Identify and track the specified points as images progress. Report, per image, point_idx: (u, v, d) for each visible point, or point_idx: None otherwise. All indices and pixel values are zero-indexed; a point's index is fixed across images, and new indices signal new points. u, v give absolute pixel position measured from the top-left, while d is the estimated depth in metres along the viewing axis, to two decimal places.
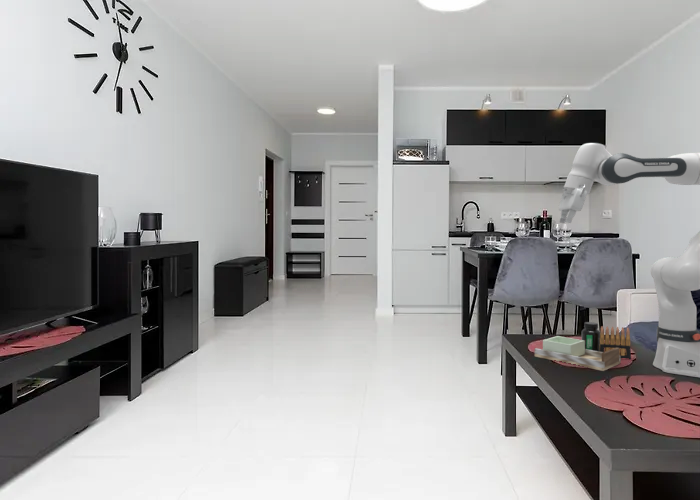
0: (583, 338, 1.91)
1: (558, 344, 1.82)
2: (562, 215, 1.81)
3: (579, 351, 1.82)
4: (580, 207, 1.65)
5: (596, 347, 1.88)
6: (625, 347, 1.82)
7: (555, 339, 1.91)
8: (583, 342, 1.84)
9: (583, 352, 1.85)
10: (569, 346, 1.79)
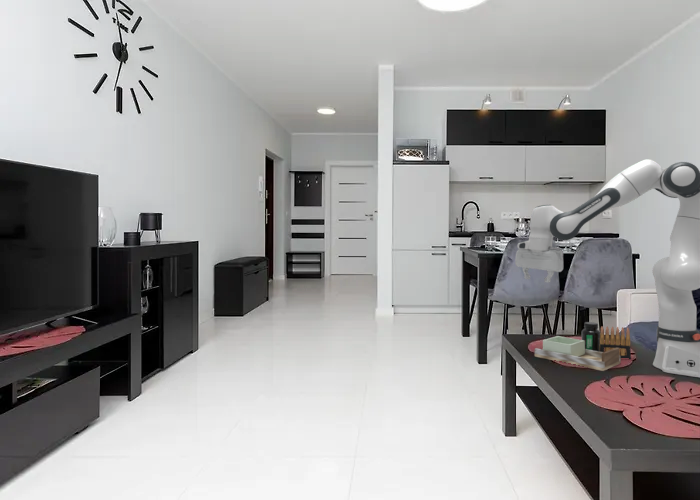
0: (583, 338, 1.91)
1: (558, 344, 1.82)
2: (525, 272, 1.95)
3: (579, 351, 1.82)
4: (562, 269, 1.82)
5: (596, 347, 1.88)
6: (625, 347, 1.82)
7: (555, 339, 1.91)
8: (583, 342, 1.84)
9: (583, 352, 1.85)
10: (569, 346, 1.79)
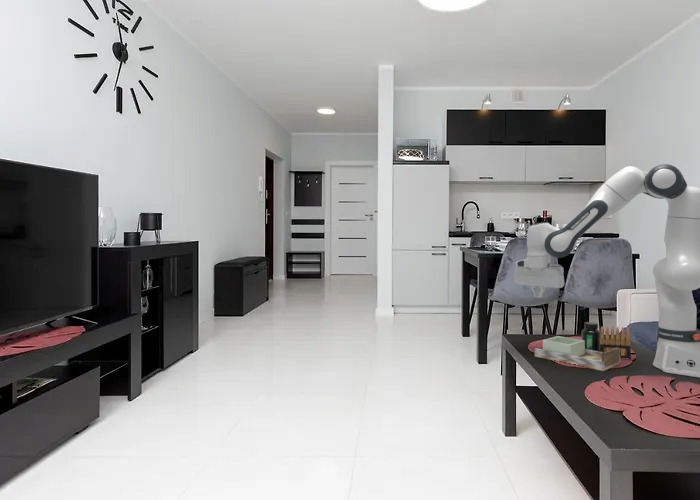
0: (583, 338, 1.91)
1: (558, 344, 1.82)
2: (534, 290, 1.94)
3: (579, 351, 1.82)
4: (563, 284, 1.86)
5: (596, 347, 1.88)
6: (625, 347, 1.82)
7: (555, 339, 1.91)
8: (583, 342, 1.84)
9: (583, 352, 1.85)
10: (569, 346, 1.79)
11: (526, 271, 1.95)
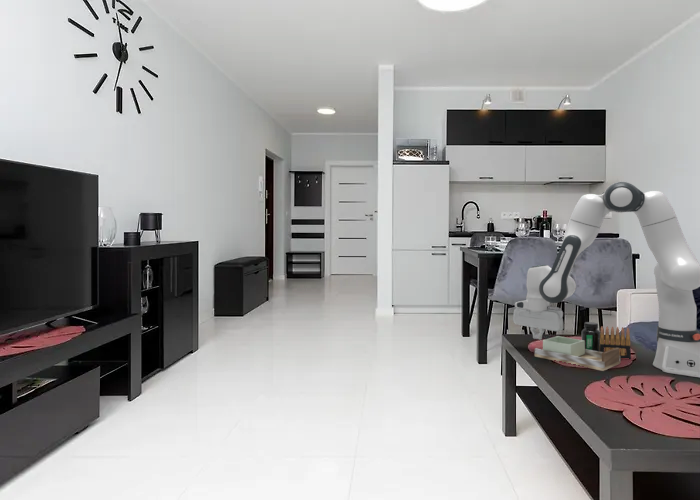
0: (583, 338, 1.91)
1: (558, 344, 1.82)
2: (533, 331, 1.95)
3: (579, 351, 1.82)
4: (562, 328, 1.87)
5: (596, 347, 1.88)
6: (625, 347, 1.83)
7: (555, 339, 1.91)
8: (583, 342, 1.84)
9: (583, 352, 1.85)
10: (569, 346, 1.79)
11: (525, 312, 1.96)
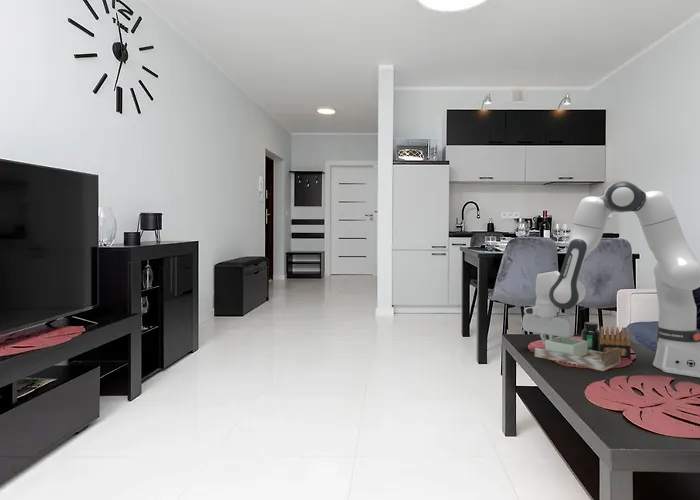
0: (583, 338, 1.91)
1: (561, 344, 1.81)
2: (543, 337, 1.92)
3: (581, 351, 1.82)
4: (573, 334, 1.84)
5: (596, 347, 1.88)
6: (625, 347, 1.82)
7: (557, 339, 1.90)
8: (586, 342, 1.84)
9: (586, 352, 1.84)
10: (572, 346, 1.78)
11: (535, 318, 1.93)
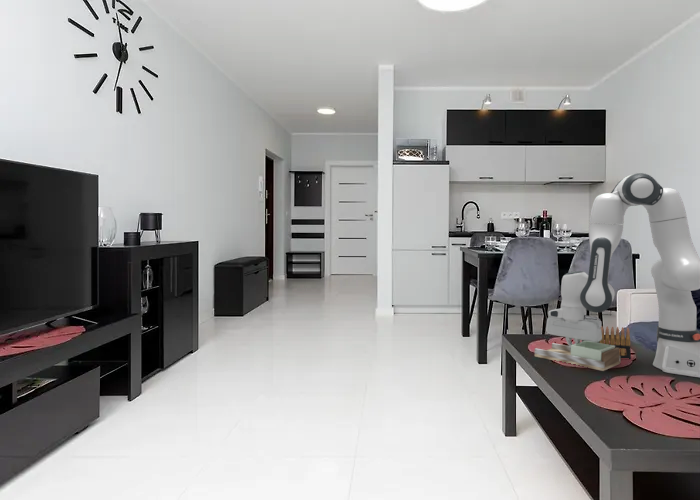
0: None
1: (587, 349, 1.73)
2: (569, 342, 1.84)
3: None
4: (601, 338, 1.76)
5: None
6: (625, 347, 1.83)
7: (583, 344, 1.83)
8: (613, 347, 1.76)
9: None
10: (600, 352, 1.70)
11: (560, 321, 1.85)
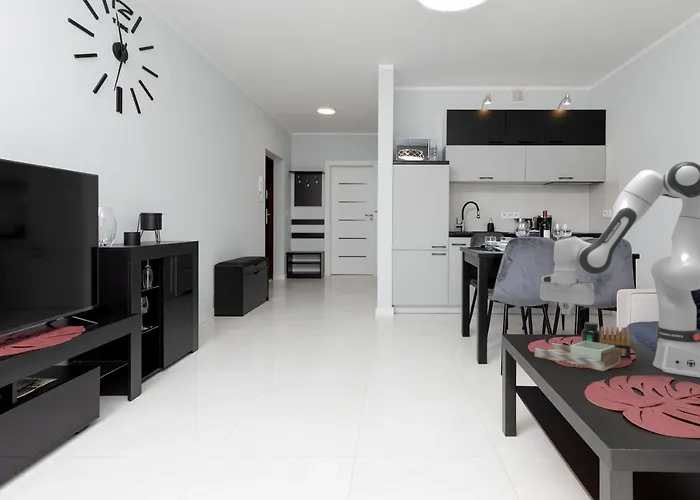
0: (583, 338, 1.91)
1: (587, 349, 1.73)
2: (562, 306, 1.85)
3: None
4: (594, 301, 1.77)
5: None
6: (625, 347, 1.82)
7: (583, 344, 1.83)
8: (613, 347, 1.76)
9: None
10: (599, 352, 1.70)
11: (553, 287, 1.86)
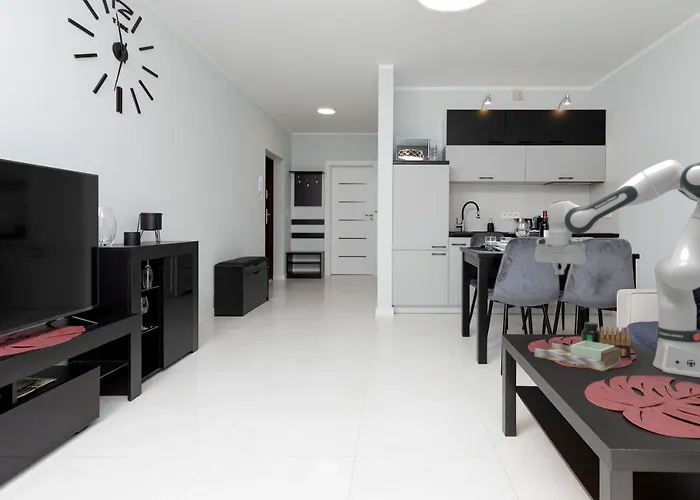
0: (583, 338, 1.91)
1: (587, 349, 1.73)
2: (555, 267, 1.97)
3: None
4: (585, 261, 1.89)
5: None
6: (625, 347, 1.82)
7: (583, 344, 1.83)
8: (613, 347, 1.76)
9: None
10: (599, 352, 1.70)
11: (547, 249, 1.98)
